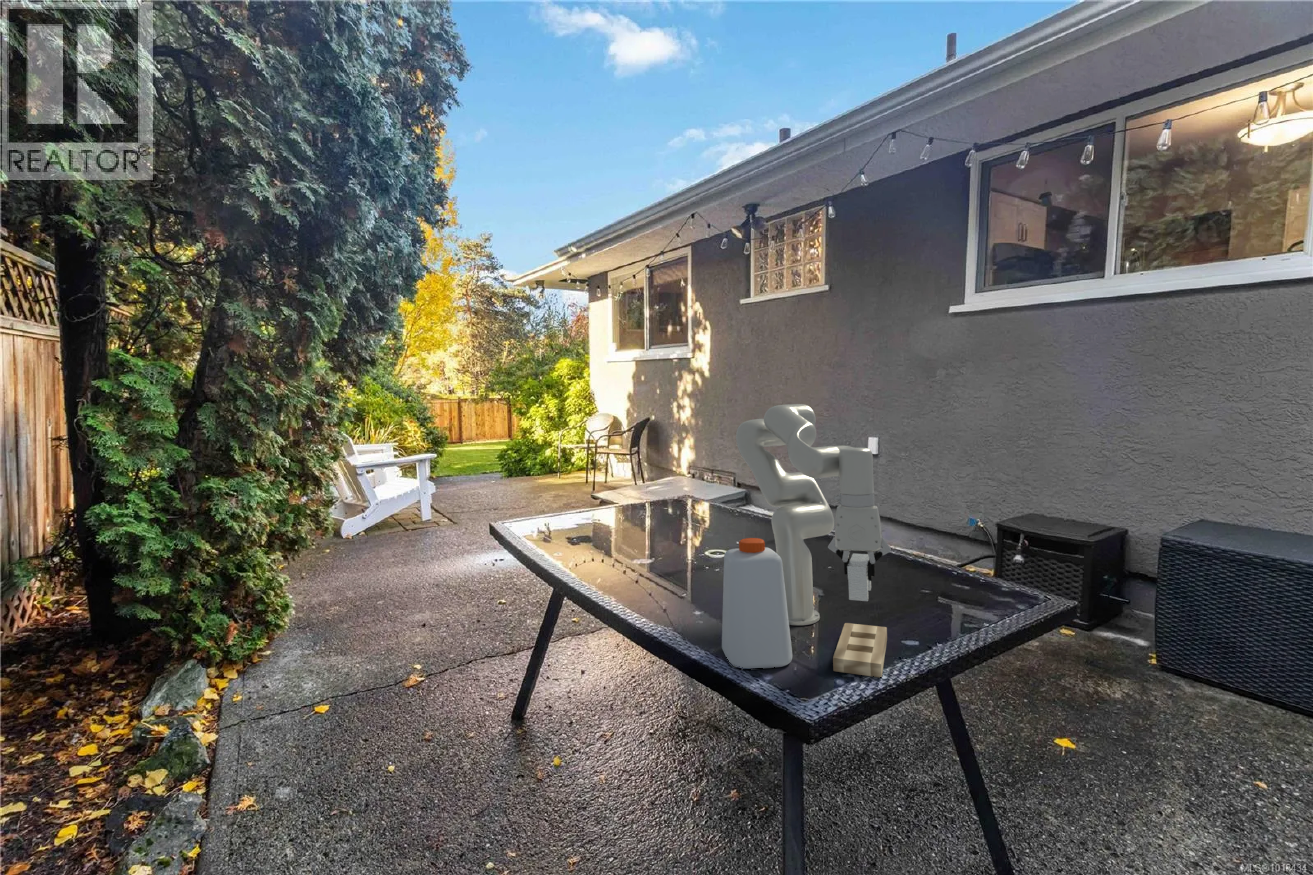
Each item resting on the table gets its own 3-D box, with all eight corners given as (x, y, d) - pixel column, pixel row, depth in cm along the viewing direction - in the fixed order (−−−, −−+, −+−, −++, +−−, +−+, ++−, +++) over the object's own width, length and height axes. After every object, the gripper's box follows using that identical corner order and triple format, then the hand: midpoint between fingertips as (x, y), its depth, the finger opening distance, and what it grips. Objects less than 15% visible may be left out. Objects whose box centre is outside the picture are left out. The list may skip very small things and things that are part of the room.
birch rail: (833, 671, 128) (833, 657, 128) (845, 634, 148) (844, 622, 148) (881, 677, 124) (881, 664, 124) (887, 639, 144) (886, 627, 144)
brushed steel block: (848, 601, 131) (847, 566, 130) (854, 585, 142) (852, 553, 141) (867, 602, 129) (866, 567, 129) (871, 587, 140) (870, 554, 140)
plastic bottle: (797, 668, 131) (793, 545, 129) (731, 673, 130) (726, 550, 128) (778, 641, 146) (773, 531, 145) (719, 646, 145) (714, 535, 143)
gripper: (817, 502, 135) (820, 580, 135) (895, 504, 128) (898, 585, 128) (822, 497, 141) (825, 571, 142) (896, 498, 134) (899, 576, 135)
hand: (859, 577), depth 135 cm, fingers closed on brushed steel block, 4 cm apart
